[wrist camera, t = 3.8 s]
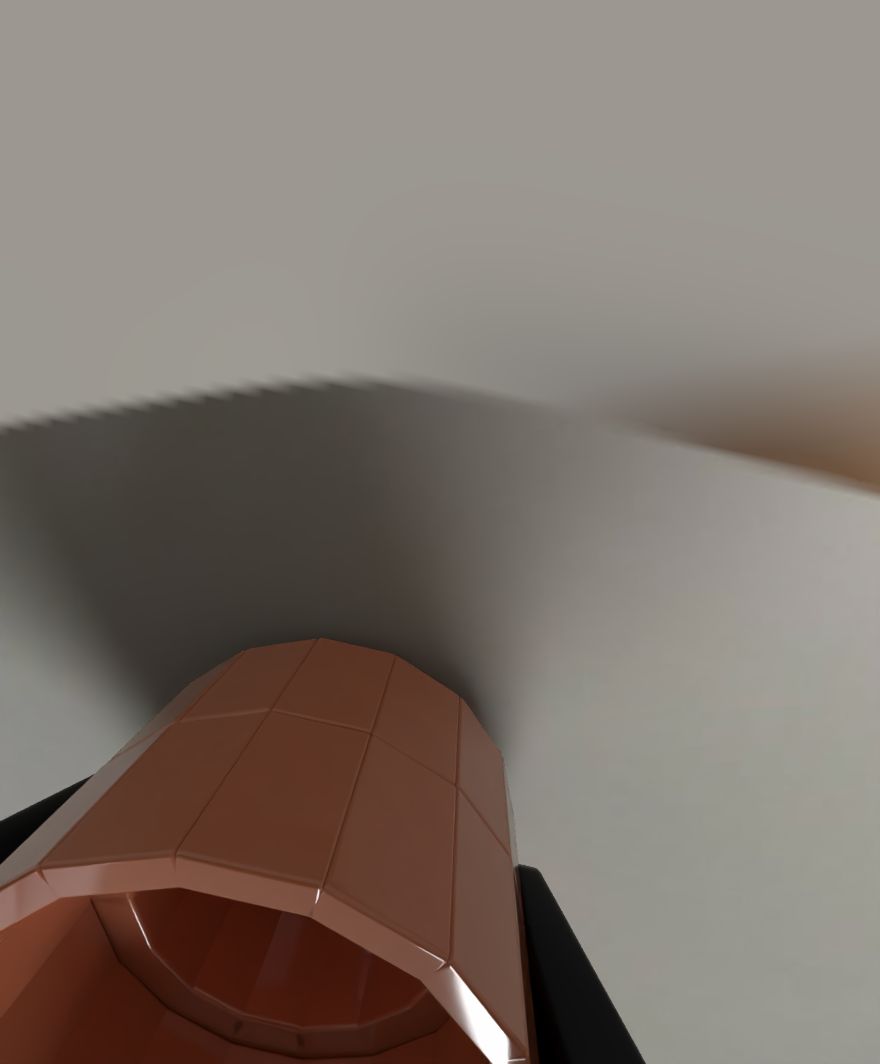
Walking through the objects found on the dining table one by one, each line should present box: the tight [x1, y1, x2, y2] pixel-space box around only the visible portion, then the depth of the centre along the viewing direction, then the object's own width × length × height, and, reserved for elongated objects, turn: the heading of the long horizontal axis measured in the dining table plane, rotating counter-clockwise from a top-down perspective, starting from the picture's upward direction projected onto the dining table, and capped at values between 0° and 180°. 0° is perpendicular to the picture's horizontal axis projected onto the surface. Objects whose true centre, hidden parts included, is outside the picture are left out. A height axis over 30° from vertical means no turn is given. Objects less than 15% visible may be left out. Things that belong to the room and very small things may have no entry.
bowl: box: [0, 638, 539, 1064], centre depth 7 cm, size 7×7×4 cm
